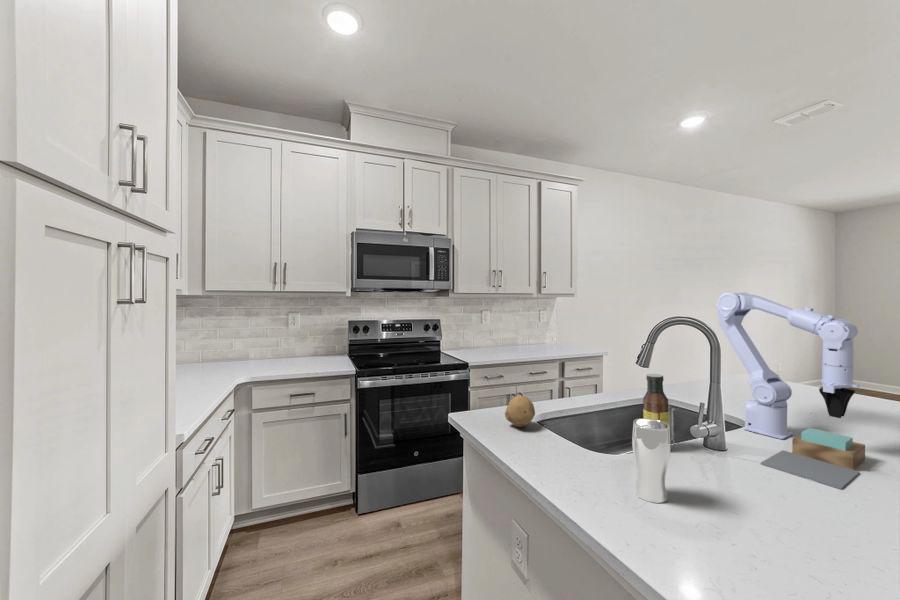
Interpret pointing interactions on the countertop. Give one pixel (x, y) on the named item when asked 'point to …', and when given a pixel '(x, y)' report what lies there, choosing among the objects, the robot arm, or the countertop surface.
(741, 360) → the robot arm
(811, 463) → the mat
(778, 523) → the countertop surface
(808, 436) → the tile
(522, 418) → the tan round lump
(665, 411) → the sauce bottle
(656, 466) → the beer glass
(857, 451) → the block
